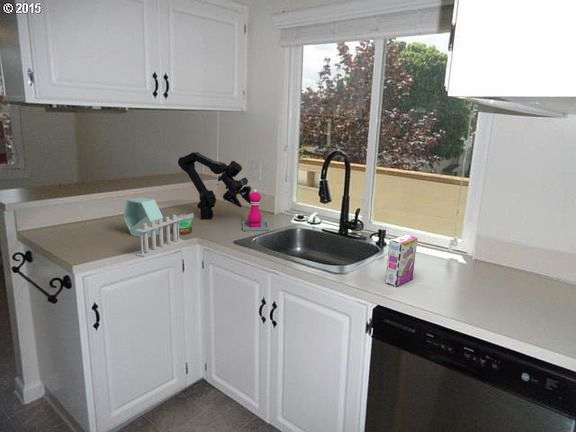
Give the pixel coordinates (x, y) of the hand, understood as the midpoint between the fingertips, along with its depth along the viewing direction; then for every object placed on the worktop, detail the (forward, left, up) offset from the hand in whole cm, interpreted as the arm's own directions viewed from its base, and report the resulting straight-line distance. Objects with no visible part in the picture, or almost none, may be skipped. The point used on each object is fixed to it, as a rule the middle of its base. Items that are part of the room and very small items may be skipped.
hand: (246, 205), depth 208 cm
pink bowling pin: (+4, -3, -11) cm, 12 cm away
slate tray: (+5, -3, -11) cm, 13 cm away
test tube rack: (-37, -35, -12) cm, 53 cm away
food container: (-31, -13, -12) cm, 35 cm away
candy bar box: (+54, -77, -12) cm, 95 cm away
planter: (-50, -15, -12) cm, 53 cm away
